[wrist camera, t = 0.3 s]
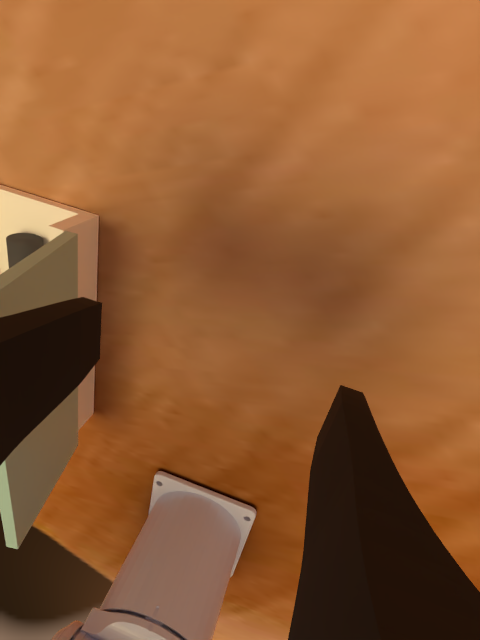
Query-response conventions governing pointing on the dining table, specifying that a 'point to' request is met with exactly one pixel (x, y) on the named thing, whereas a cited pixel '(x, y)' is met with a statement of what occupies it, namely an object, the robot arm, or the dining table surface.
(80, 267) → the cream piece
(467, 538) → the dining table surface
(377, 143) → the dining table surface
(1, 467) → the panel
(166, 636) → the robot arm
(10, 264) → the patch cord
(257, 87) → the dining table surface
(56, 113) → the dining table surface
